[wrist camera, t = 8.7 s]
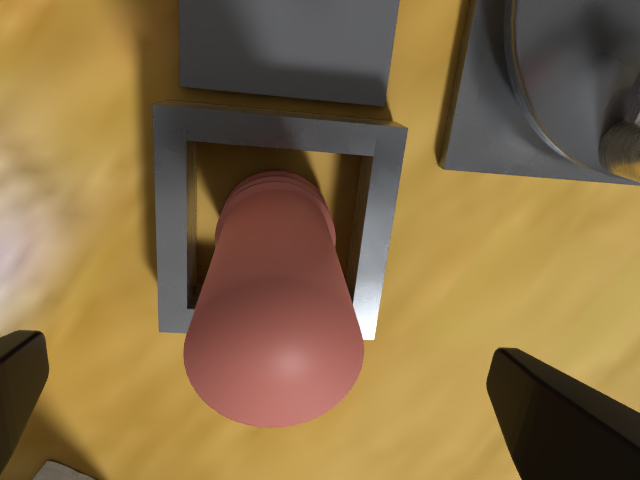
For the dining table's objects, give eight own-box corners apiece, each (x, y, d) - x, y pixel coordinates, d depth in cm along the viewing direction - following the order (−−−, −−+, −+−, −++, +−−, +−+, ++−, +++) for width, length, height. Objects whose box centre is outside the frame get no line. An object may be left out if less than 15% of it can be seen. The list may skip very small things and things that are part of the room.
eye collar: (393, 121, 17) (408, 128, 15) (364, 313, 19) (373, 339, 17) (167, 99, 16) (152, 104, 14) (170, 305, 18) (159, 332, 17)
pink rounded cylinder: (333, 170, 17) (387, 271, 9) (322, 267, 18) (360, 435, 10) (224, 162, 17) (171, 260, 8) (222, 262, 18) (174, 434, 10)
